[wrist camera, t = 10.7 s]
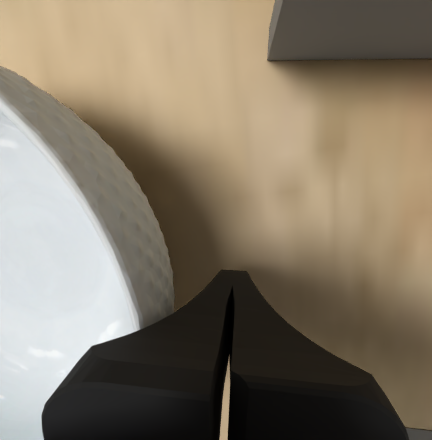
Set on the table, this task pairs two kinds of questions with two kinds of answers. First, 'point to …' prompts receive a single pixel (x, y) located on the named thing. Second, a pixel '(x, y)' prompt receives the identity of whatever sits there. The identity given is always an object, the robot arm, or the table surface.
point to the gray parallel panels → (352, 40)
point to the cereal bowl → (66, 251)
